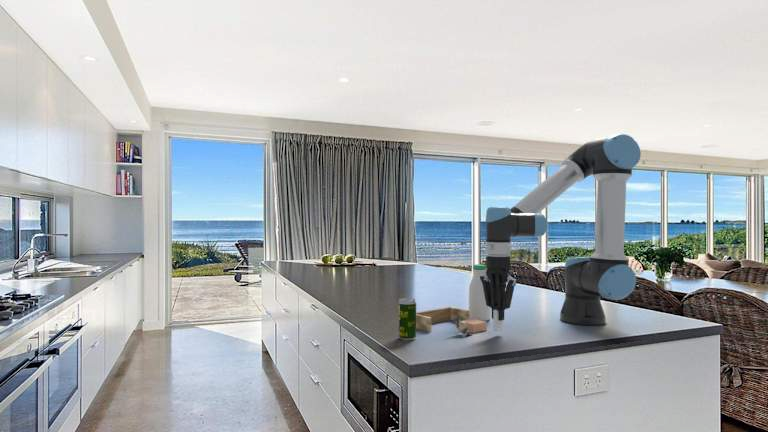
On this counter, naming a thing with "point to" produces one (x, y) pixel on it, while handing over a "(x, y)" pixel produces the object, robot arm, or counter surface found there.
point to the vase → (461, 326)
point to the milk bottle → (478, 295)
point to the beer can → (407, 319)
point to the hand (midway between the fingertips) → (497, 330)
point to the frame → (439, 316)
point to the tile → (476, 325)
